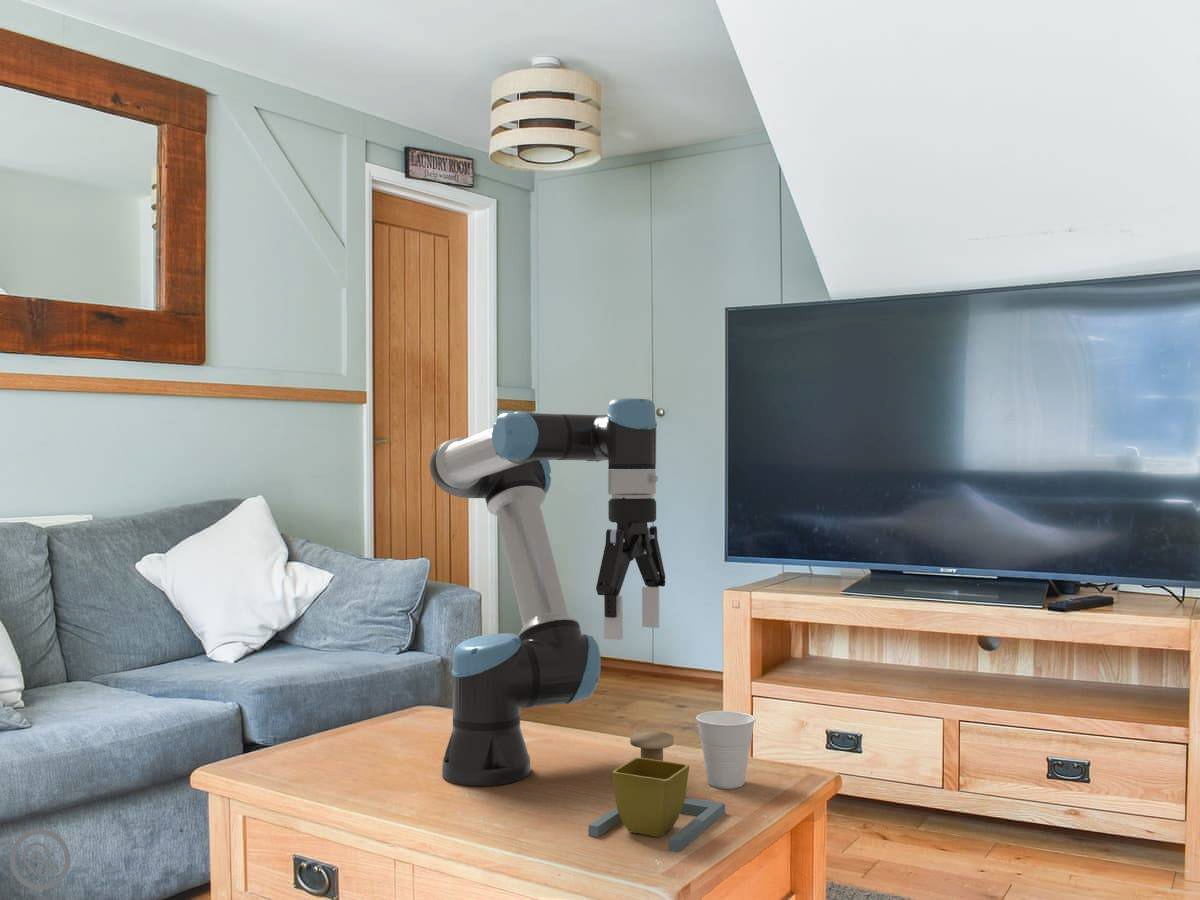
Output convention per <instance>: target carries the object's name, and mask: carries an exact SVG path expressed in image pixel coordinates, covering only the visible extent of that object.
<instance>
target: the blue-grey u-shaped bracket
mask: <svg viewBox="0 0 1200 900" xmlns="http://www.w3.org/2000/svg"><path fill="white" fill-rule="evenodd" d="M680 814H686V815H691V816H692V815H693V816H696V817H695V818H693V819H692V820H691V821H690V822H688V823H687V824H686V825H684V826H683V827H682V828H681V829H680V830H678V831H677V832H676V833H675V834H673V835H672V836H671V837H670V838H668V850H669V851H673V852H678V853H680V851H682V850H683V849H684V848H685V847H687V846H688V845H690V843H692V842H693V841H694V840H695V839H696V838H697V837H699V836H700V835H701V834H702V833H704V831H706V830H707V829H708V828H710V827H711V826H712V825H713V824H714V823H715V822H716V821H718V820H719V819H720V818H722V816H723V815H724V814H726V802H721V801H715V800H714V801H713V800H708V799H707V800H706V799H700V798H695V797H690V796H689V797H688V796H687V797H686V796H685V800H684V804H683V807H682V810H681V812H680ZM621 822H622V820H621V818H620V816H619V813H618V810H617V806H615V807H614V808H612V809H611V810H609V811H608V812H606V813H604V814H603V815H602V816H600V817H599V818H596V820H594V821H592V822H590V823H589V824H588V833H587V834H588V836H587V837H589V836H590V837H595V838H599V837H601V836H602V835H603V834H605V833H606V832H607V831H609V830H610V829H612V828H613V827H615V826H617V825H618V824H620V823H621Z"/></svg>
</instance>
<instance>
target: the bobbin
mask: <svg viewBox="0 0 1200 900" xmlns="http://www.w3.org/2000/svg"><path fill="white" fill-rule="evenodd" d="M629 737H630V738H629V740H630V741H629V743H630V745H631V746H633V747H635V748H639V749H640V758H646V759H653V760H661V761H664V749H666V748H670V747H672V746H673V745H674V735H672V734H670V733H667V732H661V731H641V732H636V733H633V734H631V735H630V736H629Z"/></svg>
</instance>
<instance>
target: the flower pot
mask: <svg viewBox="0 0 1200 900" xmlns="http://www.w3.org/2000/svg"><path fill="white" fill-rule="evenodd" d="M689 769H690V765H689V764H686V763H681V762H673V761H667V760H663V761H661V760H653V759H646V758H641V757H635V758H632V759H630V760H629V761H628V762H626V763H624V764H623V765H621V766H619V767H617V768H616V769H615V768H614V770H613V771H612V778H613V779H612V781H613V782H612V783H613V790H614V798H615V807H617V810H618V813H619V816H620V818H621V820H622V821H621V822H622V824H623V825H624V827H625V829H627V831H628V832H630V833H634V834H640V835H647V836H652V837H657V838H660V837H662V836H663V835H665V834H666V833H667V832H668V831H670V830H671V829H672V828H673V827H674V825H675V824H676V822H677V821H678V820H679V819H678V818H679V816H680V814H681V813H680V812H681V810H682V807H683V804H684V800H685V797H686V796H687V795H686V793H687V788H688V787H687V786H688V778H689Z"/></svg>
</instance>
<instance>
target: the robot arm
mask: <svg viewBox="0 0 1200 900" xmlns="http://www.w3.org/2000/svg"><path fill="white" fill-rule="evenodd" d="M655 405H656V404H655V403H654V402H653V401H652V400H650V399H647V398H636V397H635V398H633V397H632V398H615V399H612V400H610V402H609V404H608V406H607V407H608V408H607V413H606V414H576V413H575V414H574V413H573V414H570V413H569V414H567V413H566V414H565V413H557V414H556V413H537V412H536V413H535V412H534V413H533V412H525V411H515V412H505V413H504V412H502V413H501V414H498V415H499V416H497V418H496V420H495V421H494V422H493V426H492V428H489V429H486V430H484V431H482V432H479V433H477V434H474V435H472V436H470V437H467V438H466V437H455V438H451V439H449V440H446V441H444V442H442V443H441V444H440V445H438V446H437V447H436V448H435V449H434V450H433V452H432V455H431V457H430V461H429V471H430V475H431V478H432V479H433V481H434V483H435V484H436V486H437V487H438V488H440V490H442V491H443V492H446V494H448V495H451V496H454V497H457V498H461V499H462V498H463V499H485V503H486V507H487V510H488V512H489V513H490V514H492V515H493V516H496V517H497V519H498V520H497V521H498V525H499V529H500V533H501V537H502V542H503V545H504V547H503V548H504V551H505V555H506V559H507V563H508V568H509V572H510V577H511V580H512V586H513V589H514V594H515V598H516V603H517V606H518V611H519V614H520V620H521V624H522V628H521V630H520V631H519V632H518V634H515V633H511V632H502V633H489V634H484V635H478V636H475V637H471V638H468V639H466V640H462V642H460V643H458V645H457V646H456V647H455V648H454V651H453V655H452V657H453V658H452V668H451V676H452V731H451V733H450V737H449V740H448V743H447V745H446V748H445V749H446V750H445V753H444V757H443V759H442V764H441V765H442V766H441V767H442V772H441V774H442V777H443V778H444V780H446V781H448V782H451V783H453V784H454V783H455V784H457V785H458V784H459V785H464V786H477V787H480V786H481V787H482V786H483V787H486V786H487V787H488V786H498V785H505V784H510V783H515V782H518V781H522V780H523V779H525V778H527V777H528V776H529V775H530V774H531V758H530V755H529V752H528V748H527V746H526V745H527V744H526V742H525V738H524V735H523V732H522V730H521V710H522V709H529V708H537V707H544V706H553V705H561V704H565V705H570V704H572V703H575V702H580V701H584V700H586V699H588V698H590V697H591V696H592V694H593V693H594V692H595V690H596V688H597V686H598V685H599V679H600V675H601V652H600V648H599V644H598V642H597V640H596V639H594V637H593V636H592V635H589V634H582V630H581V627H580V623H579V621H578V620H577V619H575V618H573V617H572V616H569V613H568V608H567V606H566V601H565V598H564V593H563V590H562V585H561V582H560V578H559V577H560V576H559V575H558V570H557V567H556V563H555V562H556V561H555V558H554V554H553V551H552V546H551V544H550V543H551V542H550V539H549V535H548V531H547V530H548V529H547V528H546V524H545V519H544V515H543V511H542V509H541V508H542V507H541V505H542V504H543V502H545V500H546V494H547V493H548V492H549V489H550V486H551V484H552V483H551V481H552V477H551V475H550V474H551V473H552V470H551V464H550V461H554V460H555V461H586V462H596V463H597V462H602V461H607V462H608V463H607V464H608V465H607V466H608V468H607V469H608V471H607V473H608V476H607V478H608V479H607V489H608V490H607V493H608V495H609V496H611V498H610V499H609V500H608V505H607V506H608V507H607V508H608V511H607V513H608V521H609V522H611V523H616V529H610V528H609V529H608V528H607V530H606V532H605V545H604V550H603V554H602V559H601V564H600V568H599V571H598V572H599V574H598V577H597V582H596V587H595V590H596V592H597V593H596V594H597V595H598V596H603V599H604V600H603V601H604V602H603V604H604V606H603V607H604V608H603V610H604V611H603V613H604V614H603V622H604V625H603V627H604V629H603V630H604V631H603V632H604V633H603V637H604V638H603V639H604V640H614V641H615V640H616V641H617V640H618V641H621V640H623V638H624V637H623V636H624V635H623V628H624V627H623V595H620V593H621V589H622V587H623V584H624V580H625V578H626V576H627V573H628V572H627V571H628V570H629V566H630V563H631V562H632V561H634V559H635V562H636V565H637V567H638V570H639V572H640V575H641V578H642V580H643V583H644V585H643V586H642V587H641V598H642V599H641V606H642V607H641V608H642V610H641V611H642V612H641V616H642V617H641V618H642V619H641V620H642V622H641V627H642V628H653V629H654V628H655V629H659V628H660V587H665V585H666V573H665V568H664V564H663V563H664V562H663V559H662V555H661V549H660V546H659V541H658V540H659V539H658V528H657V526H655V525H648V523H654V522H655V521H656V520H657V500H656V499H655V498H653V496H654V495H655V494H656V493H657V488H656V487H657V482H658V480H659V477H658V476H657V474H656V473H657V470H656V468H657V467H656V466H657V465H656V464H657V427H658V426H657V425H658V423H657V421H656V406H655Z"/></svg>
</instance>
